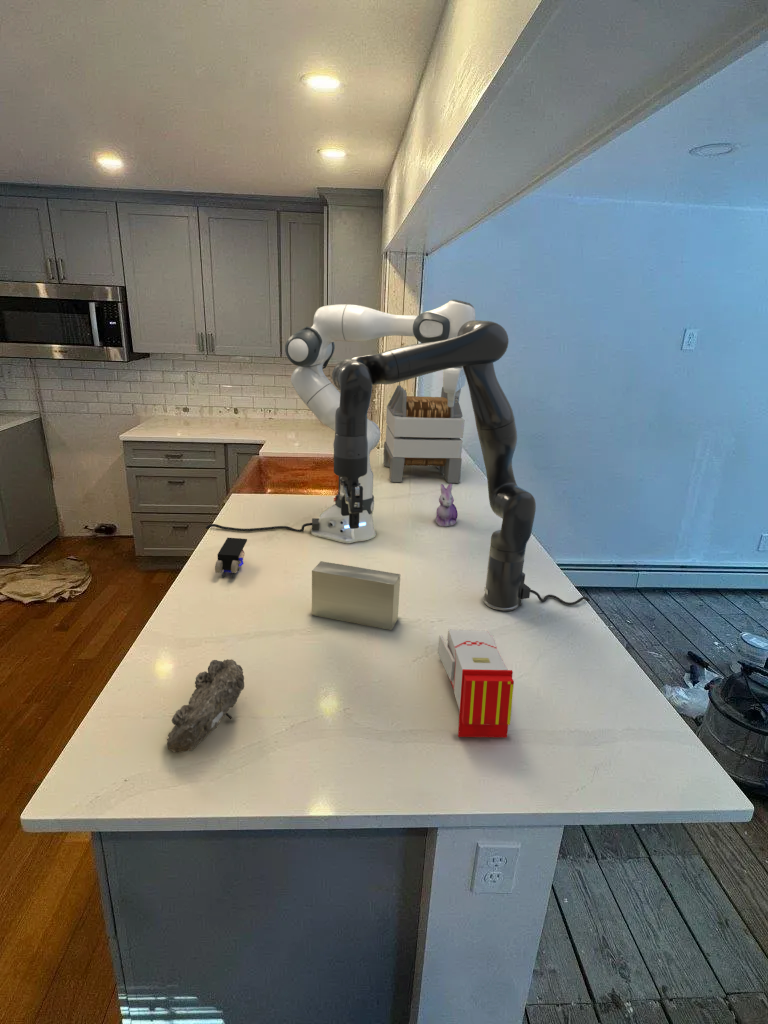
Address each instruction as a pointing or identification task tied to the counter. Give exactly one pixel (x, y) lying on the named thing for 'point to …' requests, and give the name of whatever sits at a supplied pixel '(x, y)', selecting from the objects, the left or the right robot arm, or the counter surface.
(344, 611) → the box
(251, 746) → the counter surface
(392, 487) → the counter surface
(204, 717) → the fossil
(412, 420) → the transformer
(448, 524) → the figurine
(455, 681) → the toy
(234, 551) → the toy car
